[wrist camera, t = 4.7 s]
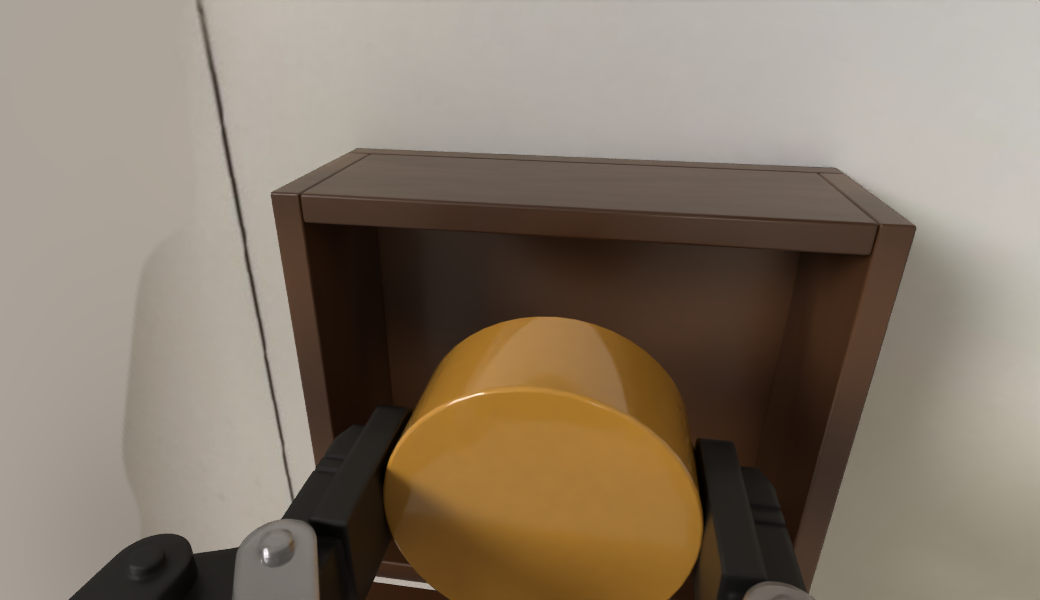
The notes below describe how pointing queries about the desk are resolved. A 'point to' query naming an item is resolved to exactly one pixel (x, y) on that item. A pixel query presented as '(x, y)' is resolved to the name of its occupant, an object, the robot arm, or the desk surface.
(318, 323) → the wooden box
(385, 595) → the lid
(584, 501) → the golden round puck
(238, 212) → the desk surface
